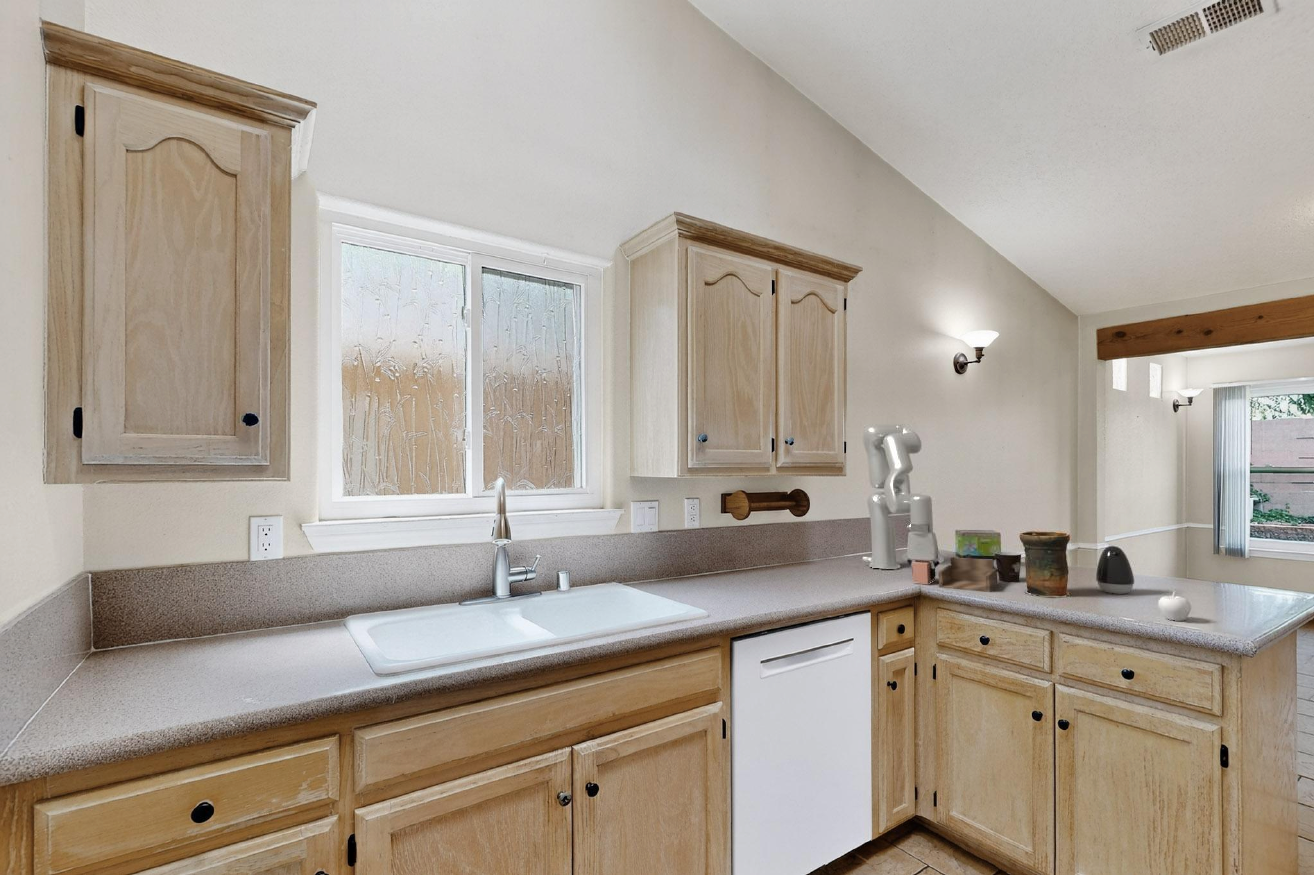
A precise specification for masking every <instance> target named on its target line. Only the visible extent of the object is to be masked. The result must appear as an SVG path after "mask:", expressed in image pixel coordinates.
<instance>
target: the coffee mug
mask: <svg viewBox="0 0 1314 875" xmlns="http://www.w3.org/2000/svg"><path fill="white" fill-rule="evenodd" d="M992 560H993V561H994V560H996V564H997V568H995V567H994V569H997V577H998V581H999V582H1002V583H1012V582H1014V583H1020V578H1021V577H1020V574H1021V564H1022V553H1021V552H1017V551H1016V552H1015V551H1001V552H995V558H993V559H992Z"/></svg>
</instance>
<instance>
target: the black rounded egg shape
mask: <svg viewBox="0 0 1314 875" xmlns="http://www.w3.org/2000/svg"><path fill="white" fill-rule="evenodd" d="M1134 577H1135V576H1134V573H1133V570H1132V566H1131V564H1130V561H1129V559H1128V556H1127V554H1126V553H1125V552H1124V551H1123V549H1122V548H1120V547H1118V546H1115V545H1110V546H1107V547H1105V548H1104V549H1103V551H1101V554H1100V557H1099V559H1098V563H1097V567H1096V574H1095V581H1096V582H1097V585H1098V586H1099V588H1100V589H1101V590H1102V591H1104V592H1105V593H1107V592H1108V594H1112V593H1114V595H1125V594H1128V593H1129V592H1131V590H1132V589H1133V587H1134V584H1135V578H1134Z"/></svg>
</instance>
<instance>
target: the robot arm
mask: <svg viewBox="0 0 1314 875" xmlns="http://www.w3.org/2000/svg"><path fill="white" fill-rule="evenodd" d="M862 439H863V440H862V441H863V446H864V448H865V449H864V450H865V452H866V455H867V463H868V474H869V476H868V477H869V483H870V486H871V487H872V488H874V489H876V490H877V489H880V490H883V491H878V492H877V491H876V492H873V493H871V494H870V495H868V497H867V507H868V513H869V518H870V531H871V534H870V535H871V556H863V557H862V561H863V562H866V563H868V562H869V563H868V567H869V566H870V567H872V568H871V569H873V568H886V569H893V568H899V569H901V568H900V567H901V565H900V564H898V563H897V547H896V545H897V544H896V526H895V524H894V521H893V520H892V518H890V516H891V515H905V514H910V523H909V524H907V525H906V529H907V530H908V529H909V530H910V531H909V532H908V534H907V535H908V536H907V548H906V549H907V550H906V552H905V553H903V555H902V559H903V560H905V561H906V562H907V563H908V564H909V566H911V569H912V570H911V571H912V572H911V573H913V564H912V563H914V562H916V561H918V560H925V561H929V563H930V566H931V568H930V579H931V580H933V579H934V577H935V578H936V575H937V574H936V568H937V567H938V566H939V565H940V564H942V563H943V562H944V561H945V560H946V559H945V557H944V556H943V555H942V554H941V553H940V552H939V546H938V539H937V535H936V533H935V532H934V524H933V521H934V520H933V502H932V497H931V496H930V495H928V494H927V495H925V494H921V493H911V482H910V475H909V474H910V473H911V472H913V468H914V466H913V464H912V459H911V456H910V455H911V454H912V455H914V454H918V453H919V452H920V451H921V449H922V440H921V438H920V436H919V435H918V434H917V433H916V432H915V431H914V429H913V430H912V429H911V428H909V426H906V425H905V424H898V423H897V424H894V423H893V424H874V425H869V426H867V427H866V428H865V429H864V431H863V435H862ZM937 559H938V560H937ZM936 560H937V561H936ZM870 567H869V568H870Z"/></svg>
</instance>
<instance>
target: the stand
mask: <svg viewBox="0 0 1314 875" xmlns="http://www.w3.org/2000/svg"><path fill="white" fill-rule="evenodd" d="M998 581H999V580H998V572H997V568H996V569H994V563H993V560H985V559H970V558H956V557H950V565H949V564H948V565H946V566H945V567H944V568H941V569H940V570H938V587H939V588H940V587H944V588H943V589H951V588H953V590H962V589H963V591H964V590H965V591H975V592H985V593H986V592H987V593H991V592H992V591H993V590H994V589H995V587H996V586H998Z"/></svg>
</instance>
